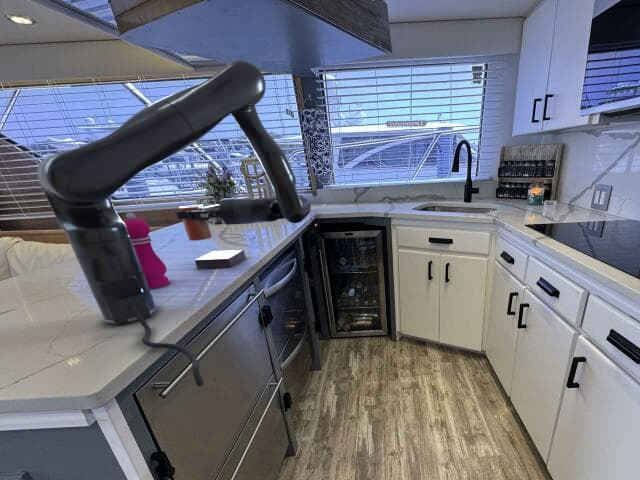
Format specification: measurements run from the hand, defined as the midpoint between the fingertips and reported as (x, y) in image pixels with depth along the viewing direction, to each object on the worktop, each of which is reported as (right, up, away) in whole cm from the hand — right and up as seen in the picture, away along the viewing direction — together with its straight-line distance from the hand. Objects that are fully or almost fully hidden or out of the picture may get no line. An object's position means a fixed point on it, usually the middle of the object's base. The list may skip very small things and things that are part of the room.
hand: (185, 213), depth 95 cm
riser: (+3, -13, +14) cm, 19 cm away
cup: (+3, -7, +3) cm, 8 cm away
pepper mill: (-5, -22, -4) cm, 23 cm away
